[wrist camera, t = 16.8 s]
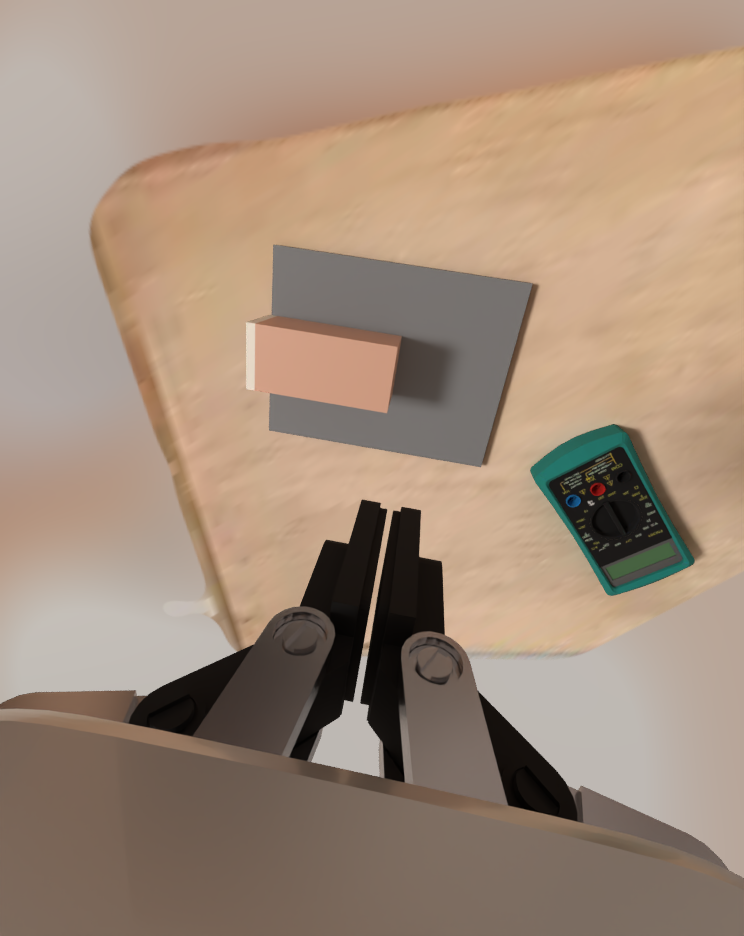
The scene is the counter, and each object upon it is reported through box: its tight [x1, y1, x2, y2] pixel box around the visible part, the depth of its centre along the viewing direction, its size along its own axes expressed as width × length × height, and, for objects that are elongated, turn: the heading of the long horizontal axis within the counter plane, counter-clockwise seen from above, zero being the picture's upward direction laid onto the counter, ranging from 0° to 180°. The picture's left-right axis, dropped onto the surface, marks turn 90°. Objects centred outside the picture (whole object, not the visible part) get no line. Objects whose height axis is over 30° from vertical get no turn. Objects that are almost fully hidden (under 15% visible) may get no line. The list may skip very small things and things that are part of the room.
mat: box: [269, 245, 532, 467], centre depth 32 cm, size 18×14×1 cm
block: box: [246, 315, 402, 413], centre depth 30 cm, size 4×4×10 cm
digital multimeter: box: [530, 424, 695, 596], centre depth 35 cm, size 7×15×3 cm, turn 37°
